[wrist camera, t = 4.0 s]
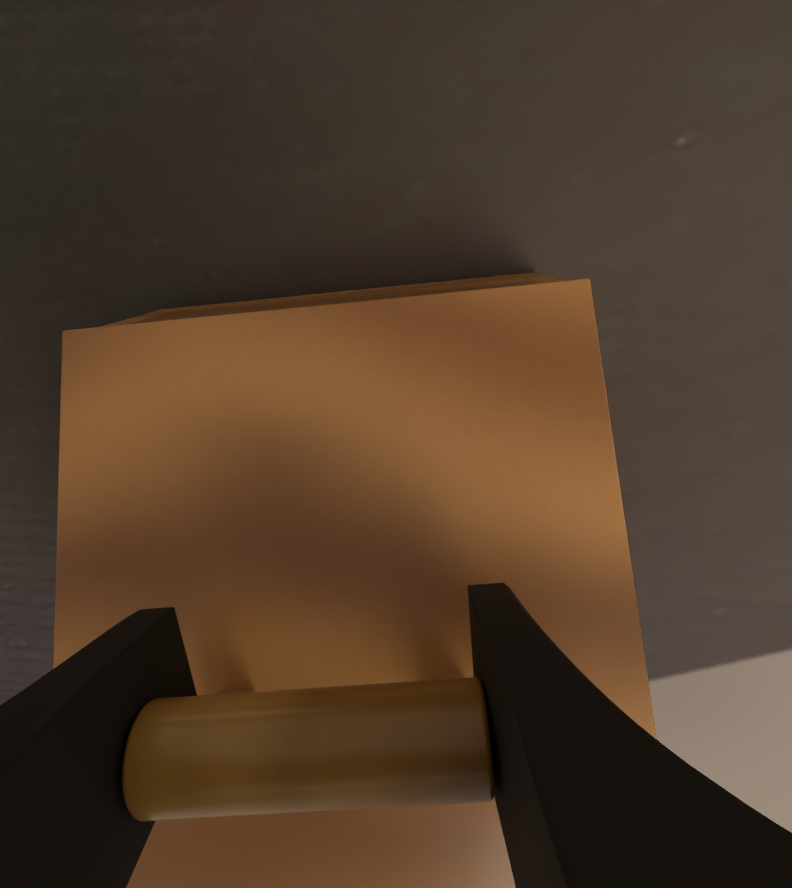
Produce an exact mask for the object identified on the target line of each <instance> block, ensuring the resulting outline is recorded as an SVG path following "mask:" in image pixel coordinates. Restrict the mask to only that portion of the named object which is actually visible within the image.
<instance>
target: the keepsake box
mask: <svg viewBox="0 0 792 888" xmlns="http://www.w3.org/2000/svg"><path fill="white" fill-rule="evenodd" d="M557 281H567V280H565V279H561V278H557V277H553V276H549V275H545V274H541V273H538V272H530V273H520V274H510V275H500V276H490V277H480V278H470V279H460V280H450V281H440V282H430V283H420V284H410V285H400V286H390V287H380V288H370V289H360V290H350V291H340V292H330V293H320V294H310V295H300V296H290V297H280V298H270V299H260V300H250V301H240V302H230V303H220V304H210V305H200V306H190V307H180V308H170V309H161V310H157V311H154V312H150V313H147V314H143V315H140V316H136V317H133V318H129V319H126V320H122V321H118V322H115V323H111V324H108V325H104V326H113V325H123V324H133V323H143V322H153V321H164V320H174V319H184V318H194V317H204V316H214V315H224V314H234V313H244V312H254V311H265V310H275V309H285V308H295V307H305V306H315V305H325V304H335V303H345V302H355V301H366V300H376V299H386V298H396V297H406V296H416V295H426V294H436V293H446V292H456V291H466V290H477V289H487V288H497V287H507V286H517V285H527V284H537V283H547V282H557ZM101 327H103V326H101Z"/></svg>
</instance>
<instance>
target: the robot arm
mask: <svg viewBox="0 0 792 888" xmlns="http://www.w3.org/2000/svg"><path fill="white" fill-rule="evenodd" d="M467 586H468V601H469V616H470V630H471V645H472V660H473V675H474V677H476V678H479V679H480V680H481V682H482V684H483V688H484V693H485V699H486V705H487V712H488V720H489V727H490V736H491V745H492V755H493V766H494V780H495V794H494V797H495V801H496V806H497V810H498V814H499V818H500V823H501V827H502V831H503V835H504V840H505V844H506V848H507V852H508V857H509V861H510V865H511V869H512V874H513V878H514V882H515V887H516V888H792V833H791V832H789V831H788V830H786V829H784V828H783V827H781V826H779V825H778V824H776V823H774V822H773V821H771V820H770V819H768V818H767V817H765V816H764V815H762V814H761V813H759V812H758V811H756V810H754V809H753V808H751V807H750V806H748V805H746V804H745V803H744V802H742V801H741V800H739V799H738V798H737V797H735V796H734V795H732V794H731V793H729V792H728V791H726V790H725V789H724V788H722V787H721V786H719V785H718V784H716V783H715V782H713V781H712V780H710V779H709V778H708V777H706V776H705V775H703V774H702V773H700V772H699V771H697V770H696V769H695V768H693V767H692V766H690V765H689V764H687V763H686V762H685V761H683V760H682V759H680V758H679V757H678V756H677V755H676V754H674V753H673V752H672V751H670V750H669V749H668V748H666V747H665V746H664V745H662V744H661V743H660V742H659V741H658V740H657V739H655V738H654V737H653V736H652V735H650V734H649V733H648V732H647V731H646V730H644V729H643V728H642V727H641V726H639V725H638V724H637V723H636V722H635V721H634V720H632V719H631V718H630V717H629V716H628V715H627V714H626V713H624V712H623V711H622V710H621V709H620V708H619V707H618V706H617V705H616V704H614V703H613V702H612V701H611V700H610V699H609V698H608V697H607V696H606V695H605V694H604V693H603V692H602V691H601V690H600V689H598V688H597V687H596V686H595V685H594V684H593V683H592V682H591V681H590V680H589V679H588V678H587V677H586V676H585V675H584V674H583V673H582V672H581V671H580V670H579V669H578V668H577V667H576V666H575V665H574V664H573V663H572V662H571V660H570V659H569V658H568V657H567V656H566V655H565V654H564V653H563V652H562V651H561V650H560V649H559V647H558V646H557V645H556V644H555V643H554V642H553V641H552V640H551V639H550V638H549V636H548V635H547V634H546V633H545V632H544V631H543V630H542V628H541V627H540V626H539V625H538V624H537V622H536V621H535V620H534V619H533V618H532V616H531V615H530V614H529V613H528V611H527V610H526V609H525V608H524V606H523V605H522V604H521V602H520V601H519V600H518V598H517V597H516V595H515V594H514V593H513V591H512V590H511V588H510V587H508V586H507V585H506V584H505V583H490V584H477V585H467ZM185 696H197V693H196V689H195V685H194V681H193V678H192V674H191V670H190V666H189V662H188V658H187V654H186V650H185V646H184V643H183V639H182V635H181V631H180V627H179V623H178V619H177V615H176V612H175V608H174V607H165V608H151V609H140V610H138V611H137V612H135V613H133V614H131V615H130V616H128V617H127V618H125V619H123V620H122V621H120V622H119V623H117V624H116V625H115V626H113V627H112V628H110V629H109V630H107V631H106V632H104V633H103V634H102V635H100V636H99V637H97V638H96V639H95V640H93V641H92V642H90V643H89V644H88V645H86V646H85V647H83V648H82V649H81V650H79V651H78V652H76V653H75V654H74V655H72V656H71V657H69V658H68V659H67V660H65V661H64V662H62V663H61V664H60V665H58V666H57V667H55V668H54V669H53V670H51V671H50V672H48V673H47V674H46V675H44V676H43V677H41V678H40V679H39V680H37V681H36V682H34V683H33V684H32V685H30V686H29V687H27V688H26V689H24V690H23V691H21V692H20V693H18V694H17V695H15V696H14V697H12V698H11V699H9V700H8V701H6V702H5V703H3V704H2V705H0V888H126V887H127V885H128V883H129V880H130V878H131V876H132V873H133V871H134V869H135V867H136V864H137V862H138V860H139V858H140V855H141V853H142V851H143V848H144V846H145V844H146V842H147V839H148V837H149V835H150V833H151V830H152V828H153V826H154V823H155V821H139V820H137V819H135V818H134V817H132V815H131V814H130V813H129V811H128V809H127V807H126V804H125V800H124V795H123V787H122V768H123V759H124V752H125V748H126V743H127V739H128V736H129V733H130V730H131V727H132V725H133V722H134V720H135V718H136V716H137V715H138V713H139V712H140V710H141V709H142V708H143V707H144V706H145V705H146V704H147V703H148V702H150V701H152V700H154V699H156V698H170V697H185Z"/></svg>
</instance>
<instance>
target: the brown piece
mask: <svg viewBox="0 0 792 888" xmlns="http://www.w3.org/2000/svg"><path fill="white" fill-rule="evenodd" d="M490 583H505V584H506V585H507V586H508V587H510V588H511V590H512V591H513V593H514V594H515V595H516V597H517V598H518V600H519V601H520V602H521V604H522V605H523V606H524V608H525V609H526V610H527V611H528V613H529V614H530V615H531V616H532V618H533V619H534V620H535V621H536V622H537V624H538V625H539V626H540V627H541V628H542V630H543V631H544V632H545V633H546V634H547V635H548V636H549V638H550V639H551V640H552V641H553V642H554V643H555V644H556V645H557V646H558V647H559V649H560V650H561V651H562V652H563V653H564V654H565V655H566V656H567V657H568V658H569V659H570V660H571V662H572V663H573V664H574V665H575V666H576V667H577V668H578V669H579V670H580V671H581V672H582V673H583V674H584V675H585V676H586V677H587V678H588V679H589V680H590V681H591V682H592V683H593V684H594V685H595V686H596V687H597V688H598V689H600V690H601V691H602V692H603V693H604V694H605V695H606V696H607V697H608V698H609V699H610V700H611V701H612V702H613V703H614V704H616V705H617V706H618V707H619V708H620V709H621V710H622V711H623V712H624V713H626V714H627V715H628V716H629V717H630V718H631V719H632V720H634V721H635V722H636V723H637V724H638V725H639V726H641V727H642V728H643V729H644V730H646V731H647V732H648V733H649V734H650V735H652V736H653V737H654V738H655V739H657V738H656V731H655V724H654V717H653V710H652V704H651V696H650V690H649V683H648V676H647V669H646V662H645V655H644V648H643V641H642V634H641V628H640V621H639V614H638V607H637V600H636V593H635V586H634V579H633V573H632V566H631V559H630V552H629V545H628V538H627V531H626V524H625V517H624V511H623V504H622V497H621V490H620V483H619V476H618V469H617V462H616V455H615V449H614V442H613V435H612V428H611V421H610V414H609V407H608V400H607V394H606V387H605V380H604V373H603V366H602V359H601V352H600V345H599V338H598V332H597V325H596V318H595V311H594V304H593V297H592V290H591V283H590V279H578V280H567V281H557V282H547V283H537V284H527V285H517V286H507V287H497V288H487V289H477V290H466V291H456V292H446V293H436V294H426V295H416V296H406V297H396V298H386V299H376V300H366V301H355V302H345V303H335V304H325V305H315V306H305V307H295V308H285V309H275V310H265V311H254V312H244V313H234V314H224V315H214V316H204V317H194V318H184V319H174V320H164V321H153V322H143V323H133V324H123V325H113V326H103V327H93V328H83V329H73V330H64V331H63V332H62V364H61V402H60V440H59V478H58V515H57V553H56V591H55V629H54V667H53V669H54V668H55V667H57V666H58V665H60V664H61V663H62V662H64V661H65V660H67V659H68V658H69V657H71V656H72V655H74V654H75V653H76V652H78V651H79V650H81V649H82V648H83V647H85V646H86V645H88V644H89V643H90V642H92V641H93V640H95V639H96V638H97V637H99V636H100V635H102V634H103V633H104V632H106V631H107V630H109V629H110V628H112V627H113V626H115V625H116V624H117V623H119V622H120V621H122V620H123V619H125V618H127V617H128V616H130V615H131V614H133V613H135V612H137V611H138V610H140V609H151V608H165V607H174V608H175V612H176V615H177V619H178V623H179V627H180V631H181V635H182V639H183V643H184V646H185V650H186V654H187V658H188V662H189V666H190V670H191V674H192V678H193V681H194V685H195V689H196V693H197V696H185V697H170V698H156V699H154V700H152V701H150V702H148V703H147V704H146V705H145V706H144V707H143V708H142V709H141V710H140V712H139V713H138V715H137V716H136V718H135V720H134V722H133V725H132V727H131V730H130V733H129V736H128V739H127V743H126V748H125V752H124V759H123V768H122V787H123V795H124V800H125V804H126V807H127V809H128V811H129V813H130V814H131V815H132V817H134V818H135V819H137V820H139V821H155V823H154V826H153V828H152V830H151V833H150V835H149V837H148V839H147V842H146V844H145V846H144V848H143V851H142V853H141V855H140V858H139V860H138V862H137V864H136V867H135V869H134V871H133V873H132V876H131V878H130V880H129V883H128V885H127V887H126V888H516V887H515V882H514V878H513V874H512V869H511V865H510V861H509V857H508V852H507V848H506V844H505V840H504V835H503V831H502V827H501V823H500V818H499V814H498V810H497V806H496V801H495V797H494V794H495V780H494V766H493V755H492V745H491V736H490V727H489V720H488V712H487V705H486V699H485V693H484V688H483V684H482V682H481V680H480V679H479V678H476V677H474V675H473V660H472V645H471V630H470V616H469V601H468V586H467V585H477V584H490Z"/></svg>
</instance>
